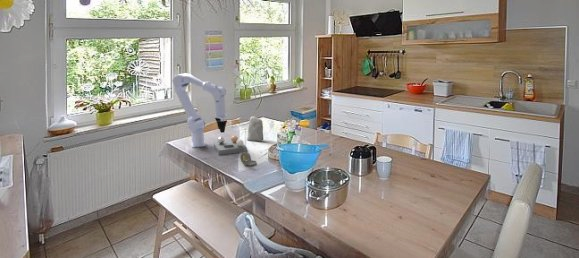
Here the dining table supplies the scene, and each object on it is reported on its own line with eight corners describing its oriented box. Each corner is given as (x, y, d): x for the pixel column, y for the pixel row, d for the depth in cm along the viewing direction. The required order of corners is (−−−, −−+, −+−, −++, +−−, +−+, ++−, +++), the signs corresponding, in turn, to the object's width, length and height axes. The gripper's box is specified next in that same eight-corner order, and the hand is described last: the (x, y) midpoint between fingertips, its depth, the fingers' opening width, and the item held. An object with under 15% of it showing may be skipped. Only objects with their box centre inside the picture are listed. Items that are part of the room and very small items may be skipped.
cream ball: (235, 145, 217) (235, 139, 216) (242, 144, 218) (242, 138, 217) (237, 147, 213) (237, 140, 212) (244, 146, 215) (243, 139, 214)
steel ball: (217, 143, 222) (216, 136, 221) (223, 142, 224) (223, 135, 223) (218, 144, 219) (218, 138, 218) (225, 144, 220) (224, 137, 219)
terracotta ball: (230, 141, 225) (230, 135, 224) (237, 140, 226) (236, 134, 225) (232, 143, 221) (231, 136, 220) (238, 142, 223) (238, 136, 222)
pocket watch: (256, 161, 196) (256, 143, 194) (256, 167, 188) (255, 148, 186) (241, 162, 196) (240, 144, 194) (239, 167, 188) (238, 148, 185)
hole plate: (213, 146, 224) (213, 142, 223) (239, 143, 230) (239, 139, 229) (218, 154, 209) (218, 150, 208) (246, 151, 214) (246, 147, 214)
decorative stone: (265, 140, 236) (264, 117, 232) (259, 142, 231) (258, 118, 228) (251, 137, 242) (250, 115, 238) (245, 140, 237) (244, 117, 233)
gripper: (229, 109, 210) (230, 133, 213) (225, 105, 223) (226, 127, 227) (216, 110, 208) (218, 134, 211) (213, 106, 221) (214, 128, 225)
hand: (221, 130), depth 219 cm, fingers open, 7 cm apart
